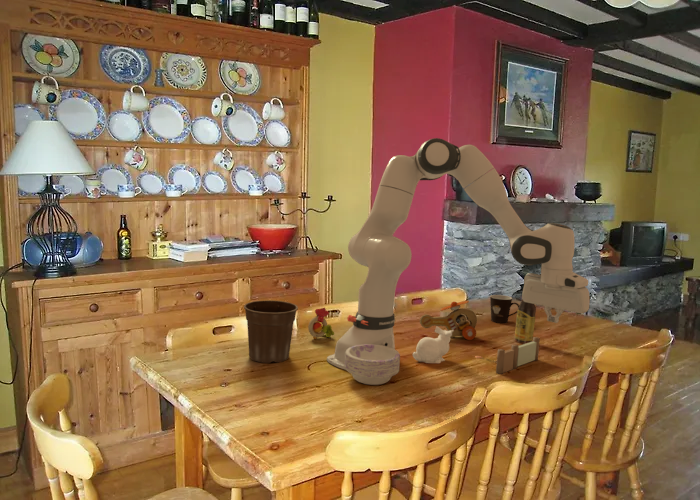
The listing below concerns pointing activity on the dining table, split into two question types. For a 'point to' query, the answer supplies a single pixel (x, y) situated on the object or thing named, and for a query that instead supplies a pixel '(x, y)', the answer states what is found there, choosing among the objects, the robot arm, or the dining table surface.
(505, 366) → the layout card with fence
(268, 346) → the plant pot
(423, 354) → the rabbit
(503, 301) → the coffee mug
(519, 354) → the sage gate panel
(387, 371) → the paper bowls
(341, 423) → the dining table surface
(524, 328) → the sauce bottle
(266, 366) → the dining table surface
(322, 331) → the bird rattle
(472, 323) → the toy helicopter
